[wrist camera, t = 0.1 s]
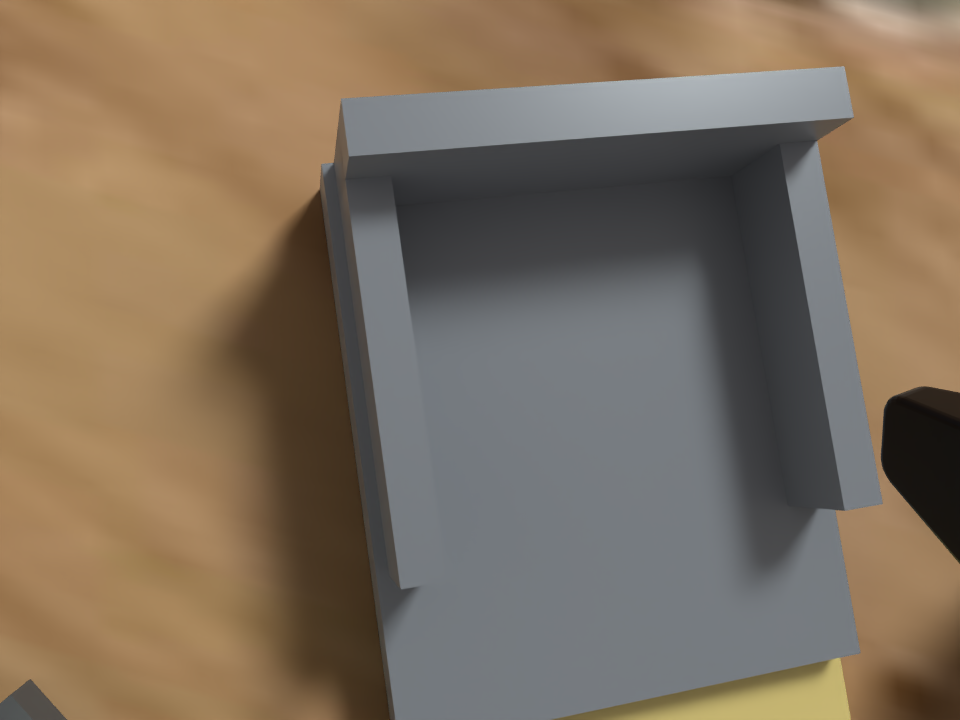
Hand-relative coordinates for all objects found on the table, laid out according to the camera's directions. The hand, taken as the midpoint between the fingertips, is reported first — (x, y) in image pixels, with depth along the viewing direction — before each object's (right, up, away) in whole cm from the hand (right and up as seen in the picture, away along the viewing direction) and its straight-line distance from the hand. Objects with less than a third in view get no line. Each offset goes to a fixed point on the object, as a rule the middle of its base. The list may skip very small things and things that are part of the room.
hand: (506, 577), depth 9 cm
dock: (+2, -1, +16) cm, 16 cm away
